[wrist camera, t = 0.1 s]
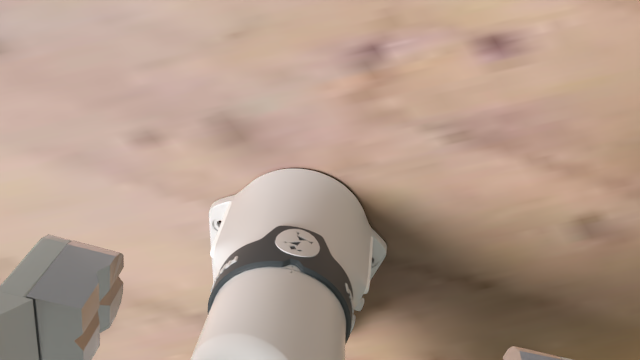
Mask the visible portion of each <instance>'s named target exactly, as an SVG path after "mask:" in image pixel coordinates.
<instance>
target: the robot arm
mask: <svg viewBox="0 0 640 360" xmlns="http://www.w3.org/2000/svg"><path fill="white" fill-rule="evenodd" d="M219 221H222V222H221V223H219ZM209 226H210V240H211V252H210V256H211V257H212V268H213V282H214V283H213V286H212V289H211V295H210V298H209V302H208V317H207V319H206V322H205V324H204V327H203V329H202V332H201V334H200V337H199V339H198V342H197V344H196V347H195V350H194V352H193V355H192V357H191V360H345V344H346V342H347V340H348V338H349V335H350V333H351V332H352V330H353V327H354V324H355V319H356V316H355V315H354V310H356V311H361V309H362V308H363V305H364V298H362V296H363V294H367V293H368V291H369V287H370V280H371V279H372V277H373V276H374V274H375V273H376V271H377V269H378V268H379V266H380V265H381V263H382V262H383V260H384V258H385V256H386V252H387V245H386V243H385V242H384V240H383V239H382V238H381V237H380V236H379V235H378V234H377V233H376V232H375V231H374V230H373V229H372V228H371V226H370V225H369V223H368V220H367V218H366V215H365V212H364V210H363V208H362V206H361V204H360V203H359V201H358V200H357V198H356V197H355V196H354V194H353V193H352V192H351V191H350V190H349V189H348V188H346V187H345V186H344V185H343V184H341V183H340V182H338V181H337V180H335V179H333V178H331V177H329V176H327V175H325V174H322V173H319V172H316V171H312V170H307V169H282V170H277V171H273V172H270V173H267V174H265V175H262V176H260V177H258V178H257V179H255V180H254V181H252V182H251V183H250V184H248V185H247V186H246V187H245V188H244V189H243V190H241V191H240V192H239V193H237V194H235V195H232V196H229V197H225V198H222V199H219V200H217V201H215V202H214V203H213V204H212V205H211V207H210V210H209ZM372 258H373V259H372ZM123 267H124V261H123V254H121V253H119V252H115V251H111V250H108V249H104V248H100V247H96V246H92V245H89V244H85V243H81V242H77V241H72V240H68V239H64V238H60V237H56V236H53V235H49V234H48V235H47V236H45V237H43V238H41V239H40V240H39V241H38V242H37V244H36V245H35V246H34V247H33V248H32V249H31V251H30V252H29V253H28V254H27V255H26V256H25V258H24V259H23V260H22V261H21V262H20V263H19V264H18V266H17V267H16V268H15V269H14V270H13V271H12V273H11V274H10V275H9V276H8V277H7V278H6V280H5V281H4V282H3V283H2V284H1V285H0V360H92V358H93V356H94V354H95V353H96V351H97V349H98V347H99V346H100V333H101V332H102V331H104V330H106V329H108V328H110V326H111V324H112V322H113V320H114V318H115V317H116V314H117V311H118V309H119V306H120V303H121V299H122V294H123V282H122V281H121V279H120V278H119V277H118V276H119V274H120V272H121V271H122V269H123ZM503 360H573V359H568V358H564V357H558V356H555V355H551V354H547V353H542V352H538V351H533V350H529V349H525V348H520V347H516V346H512V347H511V348H509V349H508V350H507V351H506V353H505V354H504V356H503Z"/></svg>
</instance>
